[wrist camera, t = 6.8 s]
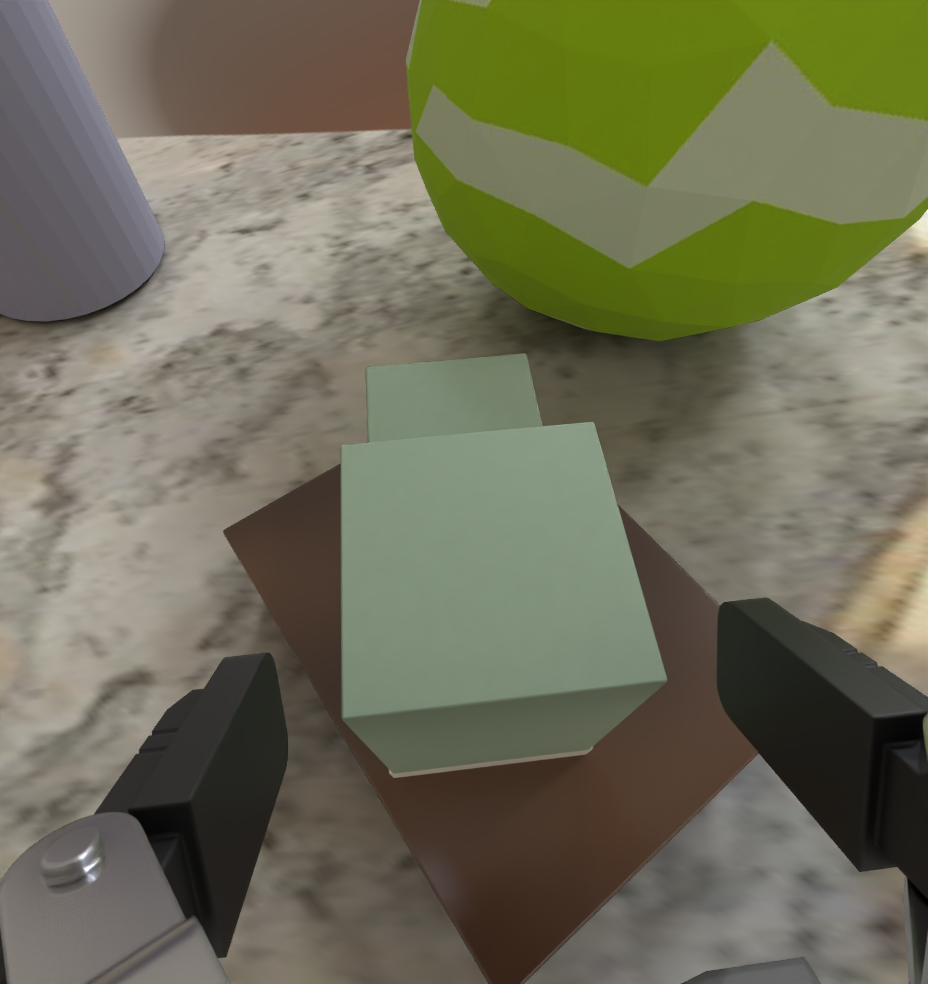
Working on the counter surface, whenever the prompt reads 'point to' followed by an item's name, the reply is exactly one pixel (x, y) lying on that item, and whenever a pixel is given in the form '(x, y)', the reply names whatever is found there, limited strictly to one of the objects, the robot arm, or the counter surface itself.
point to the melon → (670, 150)
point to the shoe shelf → (527, 785)
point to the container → (62, 181)
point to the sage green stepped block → (483, 576)
